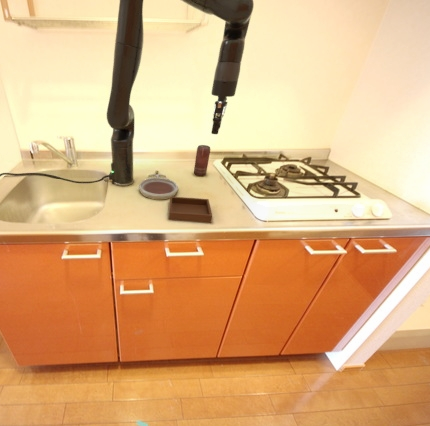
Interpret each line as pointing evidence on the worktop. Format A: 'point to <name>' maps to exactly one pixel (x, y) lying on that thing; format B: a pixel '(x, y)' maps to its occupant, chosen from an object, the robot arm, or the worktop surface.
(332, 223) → the worktop surface
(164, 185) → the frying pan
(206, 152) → the can
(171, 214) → the tray
